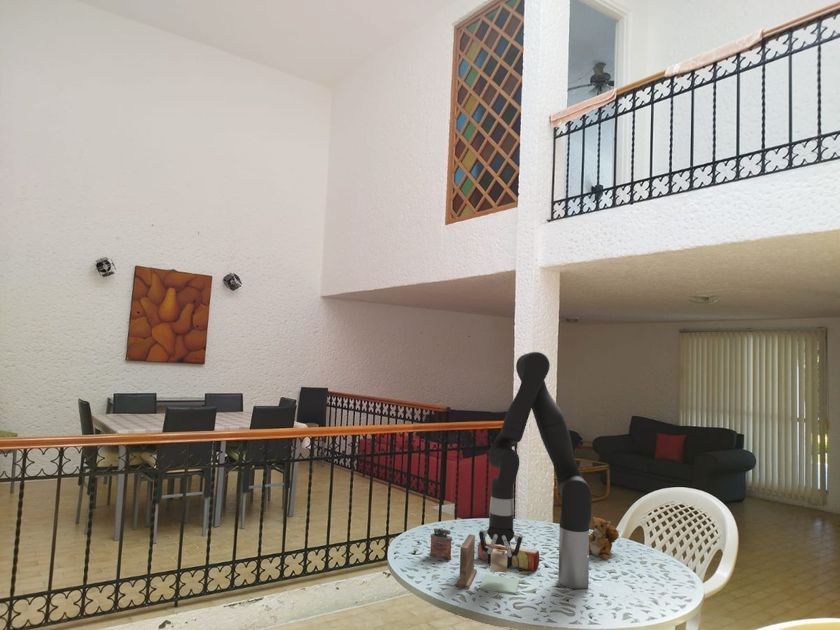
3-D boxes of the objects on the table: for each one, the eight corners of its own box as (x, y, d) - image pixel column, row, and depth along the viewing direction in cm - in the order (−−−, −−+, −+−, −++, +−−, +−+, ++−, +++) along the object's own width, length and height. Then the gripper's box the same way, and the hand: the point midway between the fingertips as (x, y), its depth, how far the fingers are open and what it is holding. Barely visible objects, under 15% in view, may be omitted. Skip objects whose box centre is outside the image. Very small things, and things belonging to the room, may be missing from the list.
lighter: (427, 556, 197) (429, 527, 198) (432, 554, 200) (433, 525, 201) (448, 561, 193) (449, 531, 194) (452, 558, 196) (453, 529, 197)
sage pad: (519, 580, 179) (519, 579, 179) (515, 594, 168) (515, 592, 168) (485, 575, 182) (485, 574, 182) (479, 588, 171) (479, 587, 171)
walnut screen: (476, 572, 184) (478, 535, 185) (468, 589, 170) (470, 548, 171) (464, 571, 185) (466, 533, 186) (455, 587, 171) (457, 546, 172)
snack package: (475, 559, 196) (476, 540, 197) (483, 554, 202) (484, 535, 203) (534, 574, 185) (534, 553, 186) (540, 568, 191) (541, 547, 192)
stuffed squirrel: (578, 553, 207) (579, 517, 208) (598, 546, 216) (599, 511, 217) (603, 561, 200) (604, 523, 201) (622, 553, 209) (623, 517, 210)
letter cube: (508, 567, 177) (509, 550, 177) (506, 572, 172) (507, 555, 173) (492, 564, 179) (493, 548, 179) (490, 570, 174) (490, 553, 174)
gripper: (525, 511, 178) (523, 566, 177) (481, 505, 182) (479, 559, 181) (523, 517, 171) (521, 574, 170) (477, 511, 175) (474, 567, 174)
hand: (499, 566), depth 175 cm, fingers closed on letter cube, 5 cm apart
